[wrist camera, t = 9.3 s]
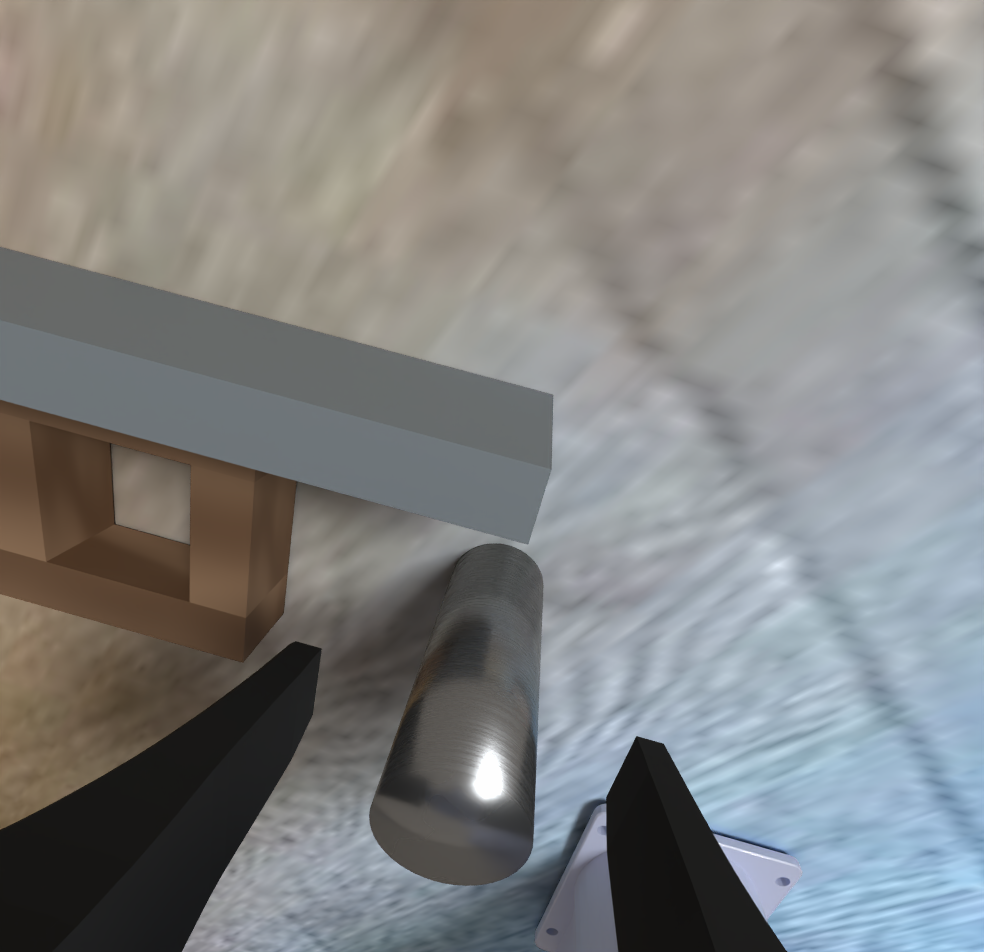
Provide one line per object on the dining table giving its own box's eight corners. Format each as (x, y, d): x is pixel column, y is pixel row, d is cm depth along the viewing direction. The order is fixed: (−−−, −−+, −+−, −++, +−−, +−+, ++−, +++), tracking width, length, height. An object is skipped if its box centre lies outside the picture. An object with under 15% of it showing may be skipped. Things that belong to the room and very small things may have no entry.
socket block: (283, 613, 18) (242, 662, 15) (70, 553, 18) (-1, 593, 16) (305, 398, 15) (258, 419, 12) (48, 328, 15) (-45, 337, 13)
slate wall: (538, 444, 15) (527, 544, 9) (-109, 269, 15) (-500, 262, 9) (553, 394, 14) (551, 469, 8) (-120, 214, 14) (-544, 172, 9)
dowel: (529, 631, 17) (509, 902, 10) (444, 608, 17) (358, 858, 10) (554, 558, 16) (553, 800, 8) (463, 532, 16) (383, 751, 9)
